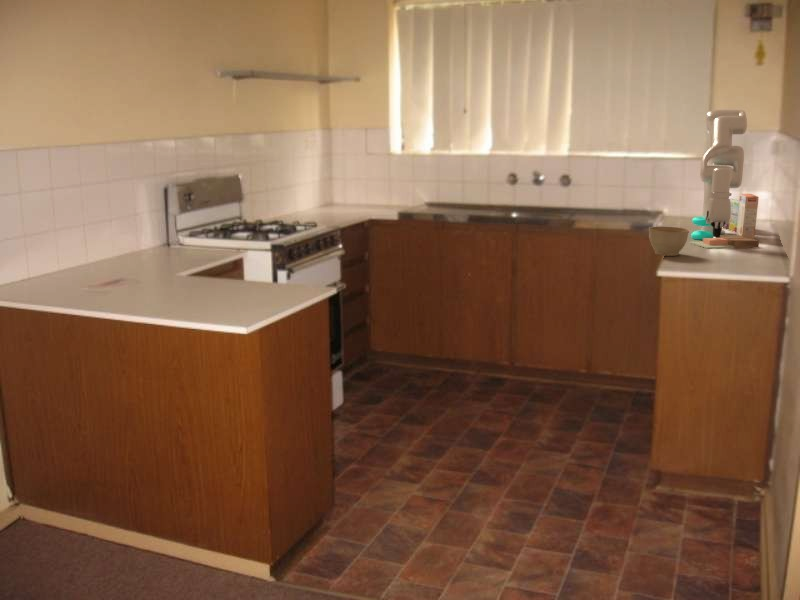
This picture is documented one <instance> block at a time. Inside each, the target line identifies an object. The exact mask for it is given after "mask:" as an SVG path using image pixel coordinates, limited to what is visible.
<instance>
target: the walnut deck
mask: <svg viewBox="0 0 800 600" xmlns="http://www.w3.org/2000/svg"><path fill="white" fill-rule="evenodd" d="M715 238H724V239H727V240H729V241H728V245H731V246H734V247H735V248H734V249H748V248H747V247H758V248H759V245H760V241H759V240H757V239H755V238H754V239H750V238H747V237H743V236H739V235H735V234H733V235H731V234H730V235H728V234H727V235H720V237H715Z"/></svg>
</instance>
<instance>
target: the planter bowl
mask: <svg viewBox="0 0 800 600" xmlns="http://www.w3.org/2000/svg"><path fill="white" fill-rule="evenodd" d="M689 233H690V230H689V229H688V228H683V227H675V226H650V227H648V239H649V242H650V244H651V247H652V248H653V250H654V254H655V255H658V256H664V257H665V256H666V257H674V256H675V257H676V256H678V255H680V252H681V251H682V249H684V246H685V245H686V243H687V241H688V238H689V237H688V236H689Z"/></svg>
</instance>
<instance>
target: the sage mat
mask: <svg viewBox="0 0 800 600" xmlns="http://www.w3.org/2000/svg"><path fill="white" fill-rule="evenodd" d="M691 243H692V244H691ZM689 244H691V245H694V244H695V245H694V246H697V245H698V247H700V246H701V248H703V247H704V249H706V248H707V250H708V249H711V250H712V248H716V249H736V248H735V247H734V246H731V245H707V244H704V243H703V240H700V241H689Z"/></svg>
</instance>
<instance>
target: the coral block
mask: <svg viewBox="0 0 800 600" xmlns="http://www.w3.org/2000/svg"><path fill="white" fill-rule="evenodd" d="M702 241H703V243H704V244H707V245H728V241H729V240H727V239H724V238H716V237H713V238H703V240H702Z"/></svg>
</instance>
